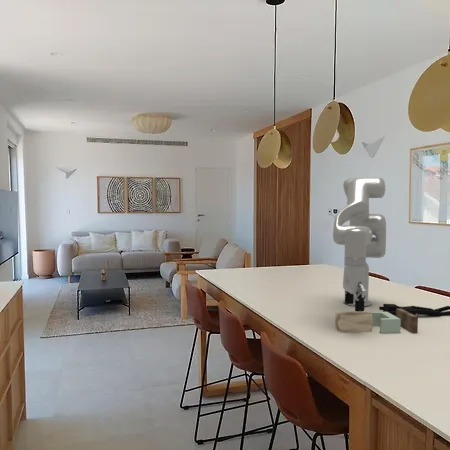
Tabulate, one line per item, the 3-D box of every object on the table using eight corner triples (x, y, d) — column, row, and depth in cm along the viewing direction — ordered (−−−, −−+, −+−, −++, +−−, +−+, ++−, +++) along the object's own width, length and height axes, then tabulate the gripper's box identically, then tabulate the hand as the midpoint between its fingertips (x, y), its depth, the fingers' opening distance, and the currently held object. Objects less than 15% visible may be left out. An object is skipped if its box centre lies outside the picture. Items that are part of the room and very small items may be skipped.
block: (369, 324, 163) (369, 312, 163) (386, 324, 163) (386, 311, 163) (381, 333, 152) (381, 319, 152) (400, 332, 153) (400, 319, 153)
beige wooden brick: (335, 327, 159) (335, 312, 159) (366, 327, 160) (366, 311, 160) (340, 332, 154) (340, 316, 153) (372, 331, 155) (372, 315, 154)
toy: (444, 314, 186) (378, 313, 183) (445, 303, 186) (379, 302, 183) (458, 320, 177) (389, 319, 174) (459, 309, 177) (390, 307, 174)
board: (324, 323, 168) (324, 306, 168) (394, 321, 171) (395, 304, 170) (343, 339, 148) (343, 320, 148) (422, 337, 151) (422, 318, 151)
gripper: (336, 258, 164) (336, 301, 165) (354, 266, 147) (353, 314, 148) (355, 257, 165) (354, 300, 166) (375, 265, 147) (374, 313, 149)
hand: (354, 307), depth 157 cm, fingers open, 9 cm apart
